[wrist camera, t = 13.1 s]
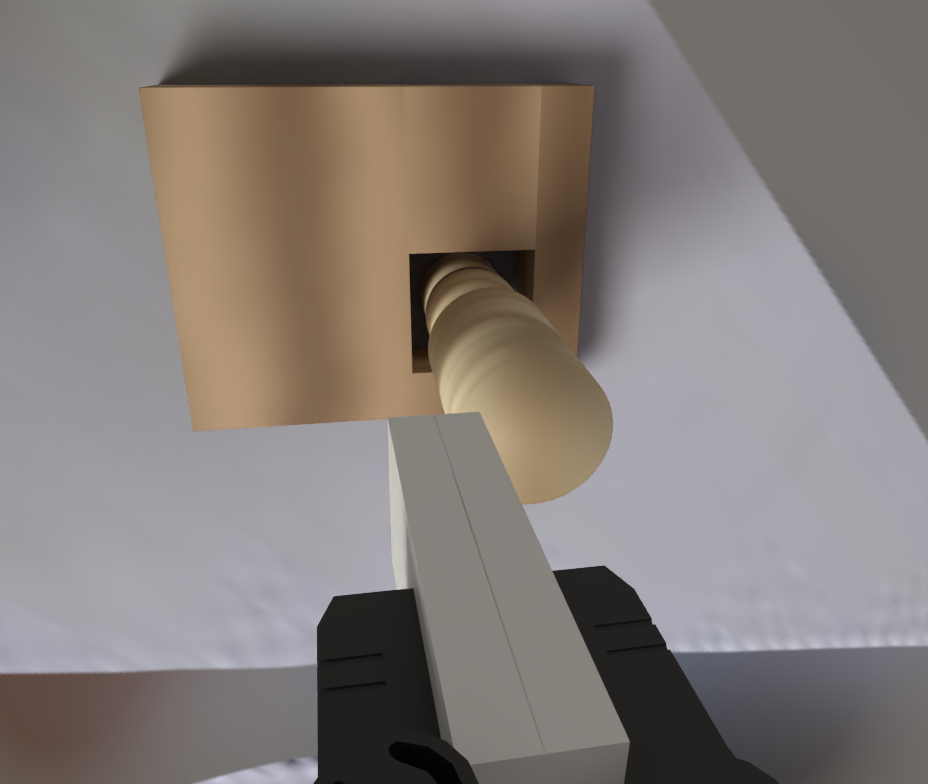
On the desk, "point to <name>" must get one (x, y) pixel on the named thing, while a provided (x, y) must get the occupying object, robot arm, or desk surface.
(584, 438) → the leg peg
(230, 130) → the board
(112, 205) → the desk surface
